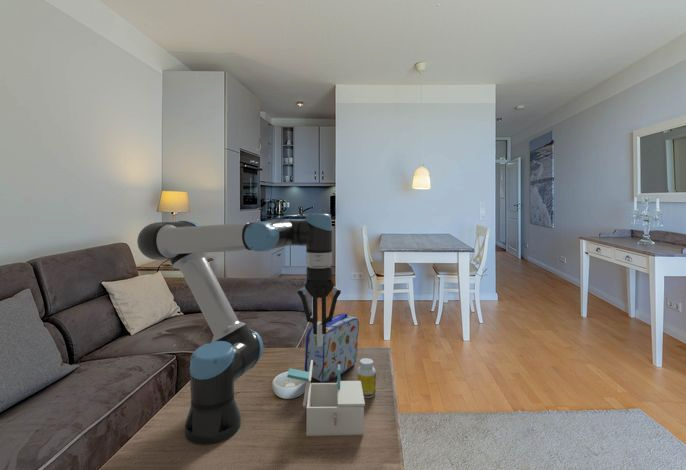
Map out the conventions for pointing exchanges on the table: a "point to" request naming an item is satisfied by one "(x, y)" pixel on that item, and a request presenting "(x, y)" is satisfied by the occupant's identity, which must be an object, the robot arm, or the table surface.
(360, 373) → the pill bottle
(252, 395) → the table surface
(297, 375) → the flap
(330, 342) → the lunch box
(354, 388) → the far flap
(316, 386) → the carton
